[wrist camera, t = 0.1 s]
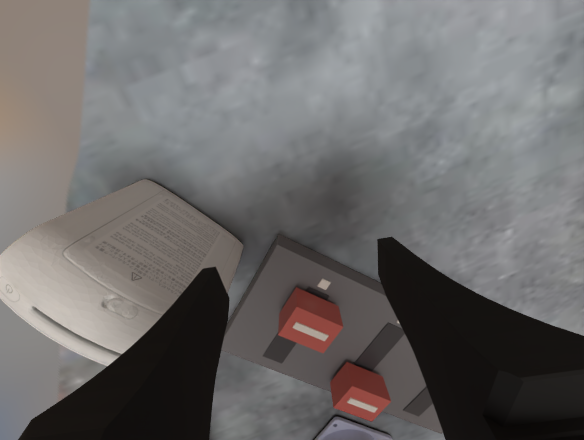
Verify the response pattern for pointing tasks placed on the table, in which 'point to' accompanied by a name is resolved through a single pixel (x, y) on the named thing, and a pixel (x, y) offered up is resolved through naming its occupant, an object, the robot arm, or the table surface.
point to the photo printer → (112, 268)
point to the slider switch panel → (348, 343)
